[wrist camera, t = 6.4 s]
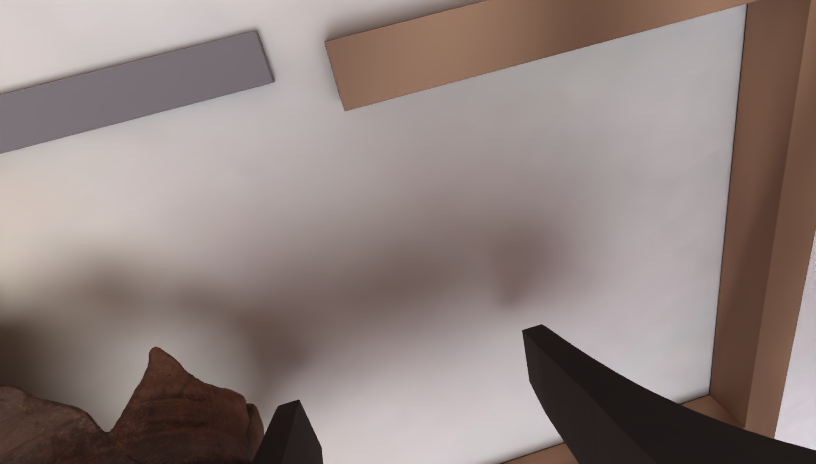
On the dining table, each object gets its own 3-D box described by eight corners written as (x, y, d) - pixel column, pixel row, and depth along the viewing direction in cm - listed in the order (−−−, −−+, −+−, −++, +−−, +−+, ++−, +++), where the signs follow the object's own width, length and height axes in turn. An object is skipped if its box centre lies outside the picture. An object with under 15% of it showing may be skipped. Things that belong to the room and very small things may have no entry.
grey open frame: (257, 31, 11) (255, 30, 10) (427, 521, 19) (429, 530, 19) (-438, 206, 10) (-467, 212, 9) (70, 641, 18) (65, 653, 18)
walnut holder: (804, -82, 12) (881, -101, 10) (736, 408, 20) (773, 440, 18) (324, 41, 11) (324, 41, 9) (457, 502, 19) (469, 545, 17)
